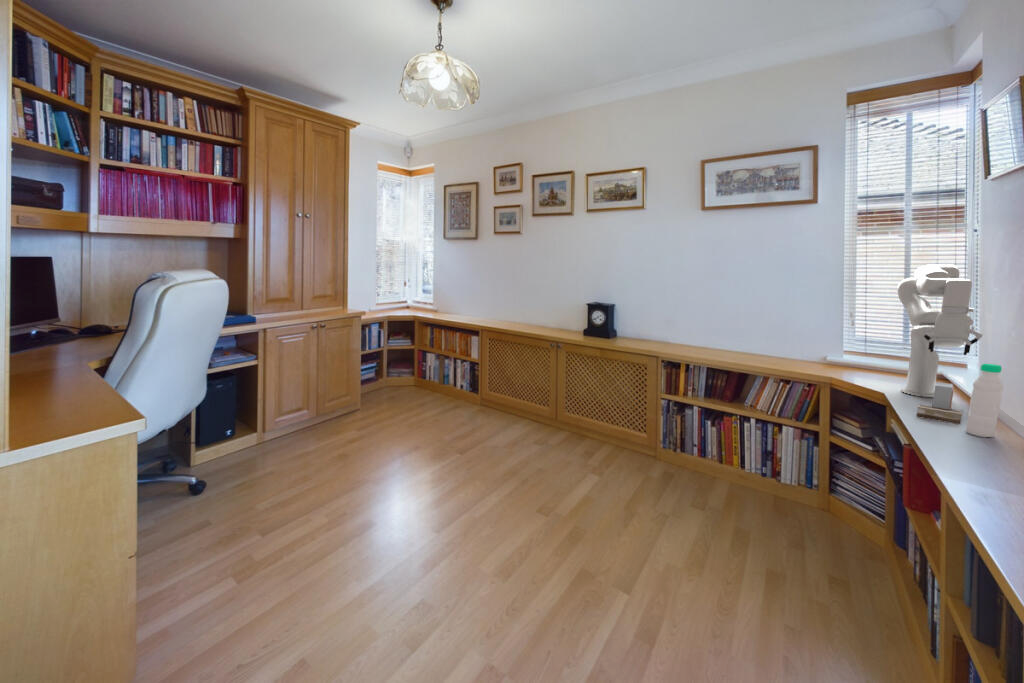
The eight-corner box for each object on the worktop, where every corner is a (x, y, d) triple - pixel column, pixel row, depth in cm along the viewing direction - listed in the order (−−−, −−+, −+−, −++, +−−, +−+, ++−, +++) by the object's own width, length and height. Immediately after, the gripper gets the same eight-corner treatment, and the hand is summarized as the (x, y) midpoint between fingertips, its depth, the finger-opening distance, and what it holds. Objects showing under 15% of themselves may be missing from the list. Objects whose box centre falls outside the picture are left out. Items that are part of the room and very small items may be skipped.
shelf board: (919, 408, 181) (921, 399, 180) (961, 415, 172) (962, 405, 172) (916, 416, 171) (917, 407, 170) (959, 424, 163) (961, 414, 162)
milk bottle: (981, 438, 149) (994, 367, 145) (959, 431, 156) (970, 362, 152) (1000, 437, 150) (1013, 366, 146) (977, 430, 157) (989, 362, 153)
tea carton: (931, 408, 180) (935, 385, 178) (932, 405, 185) (936, 382, 183) (950, 411, 176) (954, 387, 174) (950, 407, 181) (954, 384, 179)
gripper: (986, 311, 170) (979, 354, 173) (925, 308, 183) (920, 349, 185) (986, 312, 165) (978, 357, 168) (923, 310, 178) (917, 351, 180)
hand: (948, 353), depth 177 cm, fingers open, 9 cm apart
